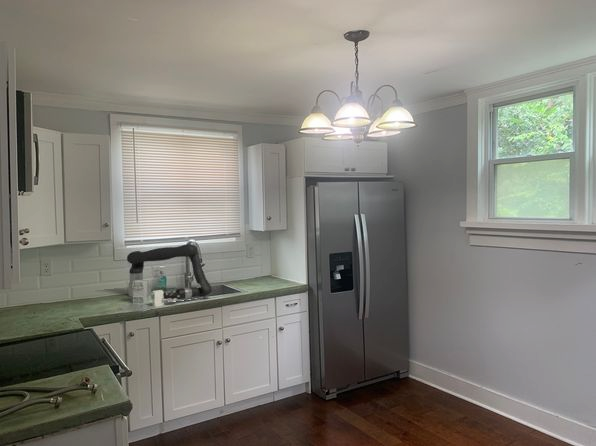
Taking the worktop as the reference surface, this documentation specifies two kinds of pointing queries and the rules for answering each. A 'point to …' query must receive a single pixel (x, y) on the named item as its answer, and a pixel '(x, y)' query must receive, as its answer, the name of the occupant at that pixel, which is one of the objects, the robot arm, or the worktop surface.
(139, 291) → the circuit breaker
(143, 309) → the mounting plate
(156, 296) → the breaker module
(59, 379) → the worktop surface
